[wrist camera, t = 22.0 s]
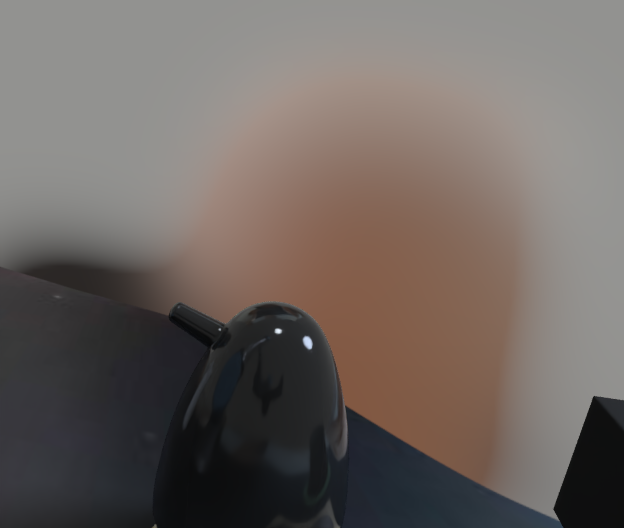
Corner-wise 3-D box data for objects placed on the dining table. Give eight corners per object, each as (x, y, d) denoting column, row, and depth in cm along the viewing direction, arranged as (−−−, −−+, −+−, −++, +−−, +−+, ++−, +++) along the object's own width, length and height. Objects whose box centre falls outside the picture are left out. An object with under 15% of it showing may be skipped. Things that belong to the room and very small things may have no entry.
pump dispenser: (174, 480, 38) (199, 256, 33) (334, 509, 38) (380, 288, 33) (112, 617, 28) (134, 328, 24) (326, 658, 28) (390, 374, 23)
